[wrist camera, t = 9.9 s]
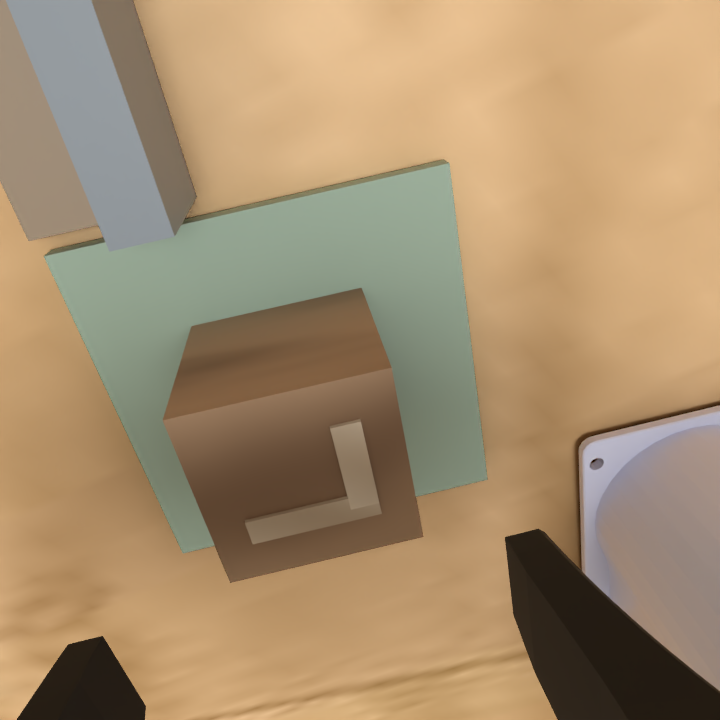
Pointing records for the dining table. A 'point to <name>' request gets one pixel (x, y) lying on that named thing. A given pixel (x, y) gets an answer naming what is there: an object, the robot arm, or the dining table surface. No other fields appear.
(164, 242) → the mat
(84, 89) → the grey long block
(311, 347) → the lettered cube
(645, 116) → the dining table surface
